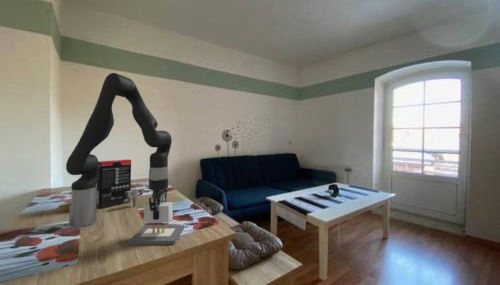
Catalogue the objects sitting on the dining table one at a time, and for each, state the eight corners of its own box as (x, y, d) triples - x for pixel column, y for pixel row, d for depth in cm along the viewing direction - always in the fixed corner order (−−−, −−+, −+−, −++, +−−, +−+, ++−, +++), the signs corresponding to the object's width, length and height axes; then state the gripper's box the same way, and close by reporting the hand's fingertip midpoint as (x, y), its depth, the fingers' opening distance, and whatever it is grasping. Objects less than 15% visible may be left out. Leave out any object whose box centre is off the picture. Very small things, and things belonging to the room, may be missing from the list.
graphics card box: (126, 199, 134) (126, 158, 133) (131, 202, 130) (131, 159, 129) (95, 207, 120) (95, 161, 119) (100, 209, 116) (99, 162, 115)
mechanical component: (144, 204, 125) (144, 188, 125) (126, 209, 116) (126, 192, 116) (141, 203, 127) (141, 188, 126) (124, 208, 118) (124, 191, 118)
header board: (128, 244, 80) (128, 240, 80) (144, 228, 94) (144, 225, 94) (174, 244, 81) (174, 240, 81) (184, 228, 95) (184, 225, 94)
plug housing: (144, 222, 84) (144, 206, 84) (149, 217, 89) (149, 202, 89) (168, 222, 85) (168, 206, 84) (172, 217, 90) (172, 202, 89)
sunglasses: (54, 214, 108) (55, 205, 108) (62, 209, 120) (62, 201, 121) (88, 210, 115) (88, 201, 116) (92, 205, 128) (92, 197, 128)
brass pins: (152, 233, 86) (152, 226, 86) (153, 232, 87) (153, 225, 87) (164, 233, 87) (164, 226, 87) (164, 231, 88) (164, 225, 88)
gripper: (156, 174, 93) (156, 210, 94) (141, 181, 79) (141, 224, 79) (173, 174, 94) (172, 210, 94) (161, 181, 79) (161, 224, 80)
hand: (158, 216), depth 87 cm, fingers closed on plug housing, 5 cm apart
